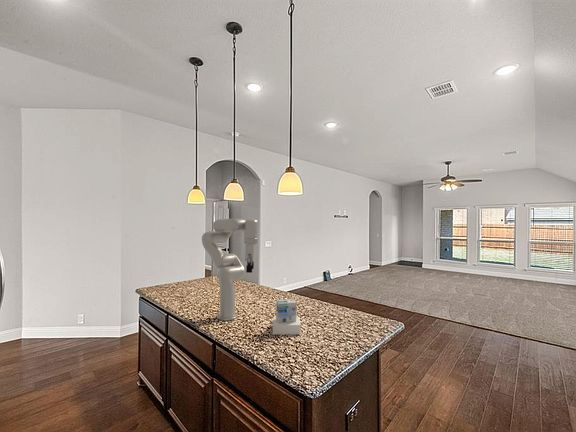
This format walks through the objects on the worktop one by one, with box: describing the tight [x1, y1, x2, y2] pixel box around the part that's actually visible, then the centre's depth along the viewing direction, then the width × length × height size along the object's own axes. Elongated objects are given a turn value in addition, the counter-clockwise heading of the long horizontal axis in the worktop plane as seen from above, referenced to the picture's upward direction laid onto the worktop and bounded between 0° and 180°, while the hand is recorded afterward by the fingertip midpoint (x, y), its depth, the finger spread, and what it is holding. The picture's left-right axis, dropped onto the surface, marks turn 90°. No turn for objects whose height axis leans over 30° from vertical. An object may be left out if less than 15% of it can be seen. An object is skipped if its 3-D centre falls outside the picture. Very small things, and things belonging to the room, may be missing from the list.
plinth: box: [272, 316, 301, 335], centre depth 157 cm, size 13×15×5 cm
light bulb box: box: [275, 298, 297, 323], centre depth 158 cm, size 11×7×11 cm, turn 102°
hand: (250, 270), depth 161 cm, fingers open, 9 cm apart
